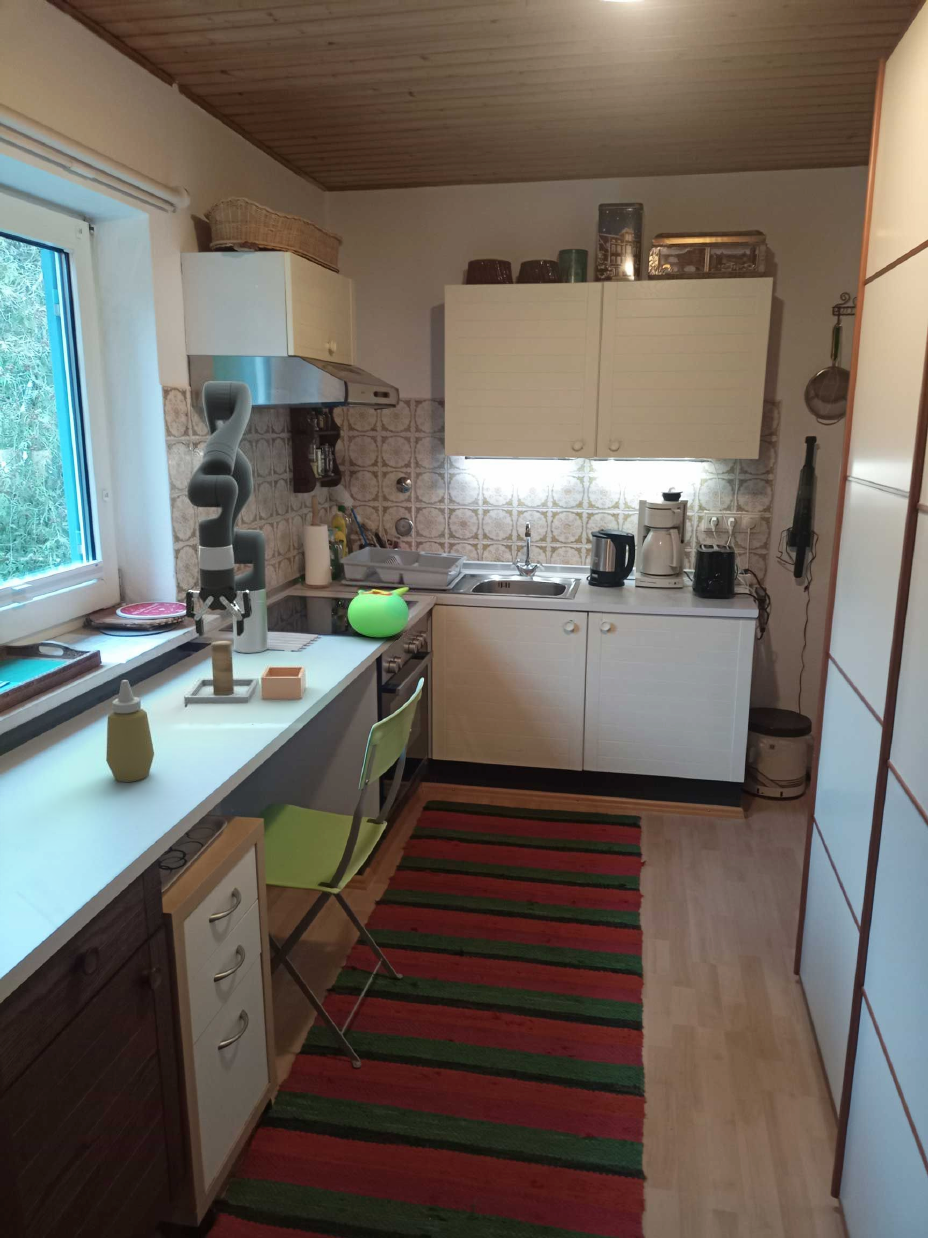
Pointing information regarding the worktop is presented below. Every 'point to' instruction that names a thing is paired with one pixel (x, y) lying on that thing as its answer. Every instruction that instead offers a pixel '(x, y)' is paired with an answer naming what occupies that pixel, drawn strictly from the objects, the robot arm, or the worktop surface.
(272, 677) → the terracotta box
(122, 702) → the squeeze bottle
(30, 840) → the worktop surface
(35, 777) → the worktop surface
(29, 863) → the worktop surface
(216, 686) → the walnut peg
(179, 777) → the worktop surface
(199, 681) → the slate tray
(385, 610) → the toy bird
